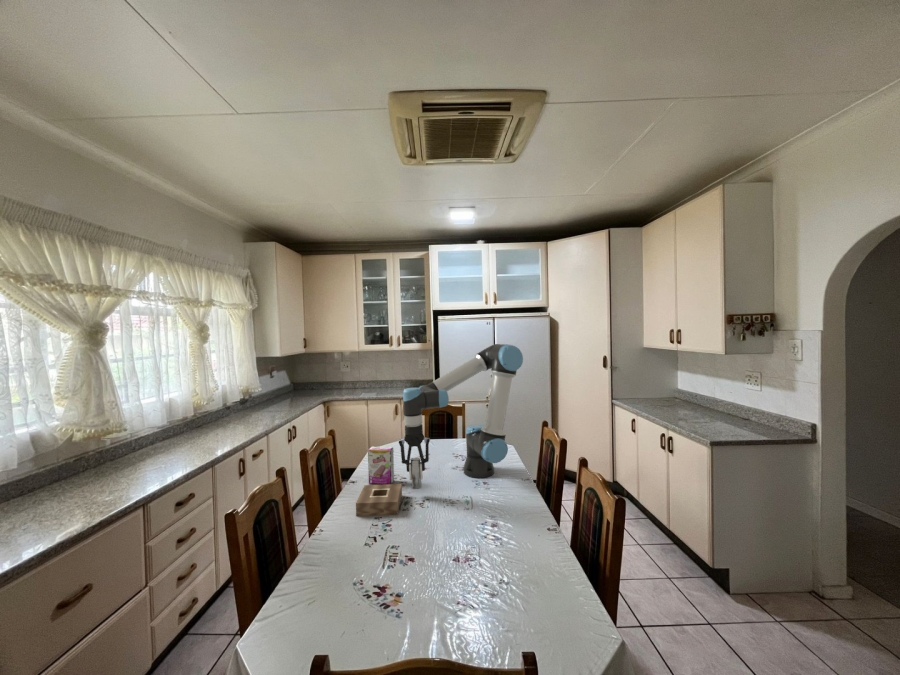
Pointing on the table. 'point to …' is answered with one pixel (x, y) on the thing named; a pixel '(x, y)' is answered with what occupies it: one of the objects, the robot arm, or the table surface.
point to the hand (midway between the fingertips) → (416, 478)
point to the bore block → (379, 500)
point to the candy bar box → (381, 465)
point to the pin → (415, 473)
